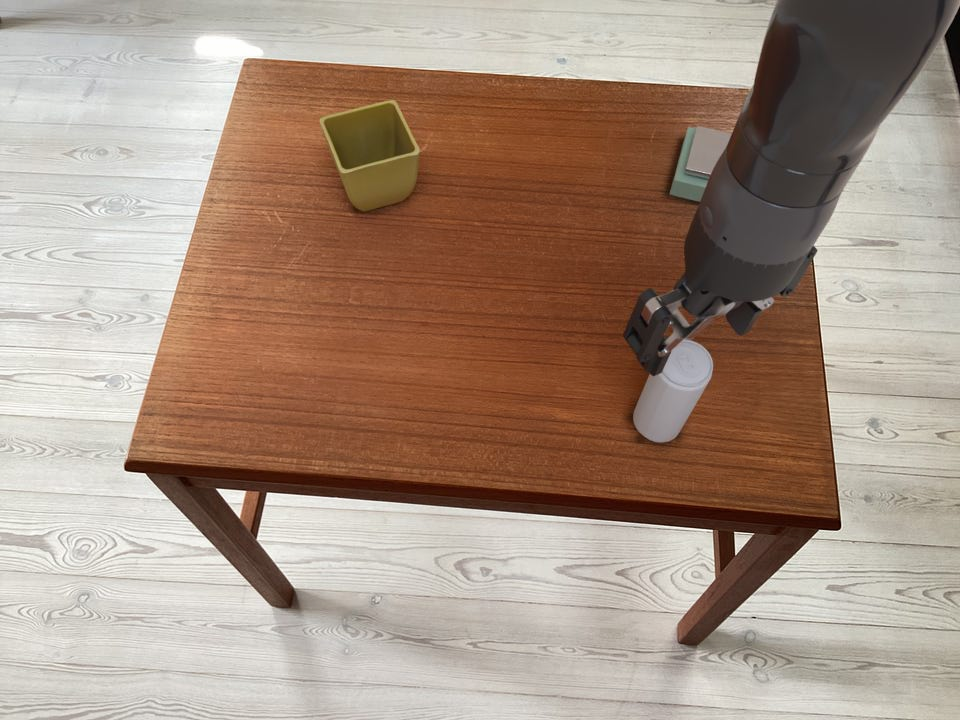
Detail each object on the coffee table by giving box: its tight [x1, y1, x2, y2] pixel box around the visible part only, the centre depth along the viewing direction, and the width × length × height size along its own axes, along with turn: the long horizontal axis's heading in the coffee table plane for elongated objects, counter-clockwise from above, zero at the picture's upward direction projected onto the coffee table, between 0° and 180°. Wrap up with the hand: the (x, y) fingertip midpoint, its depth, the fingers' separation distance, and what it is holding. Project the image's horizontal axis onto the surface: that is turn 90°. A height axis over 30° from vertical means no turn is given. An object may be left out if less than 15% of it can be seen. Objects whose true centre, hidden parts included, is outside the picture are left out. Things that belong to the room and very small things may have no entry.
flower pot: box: [319, 99, 421, 213], centre depth 86 cm, size 9×9×9 cm
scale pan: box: [685, 125, 732, 179], centre depth 89 cm, size 7×7×1 cm
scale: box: [669, 126, 709, 203], centre depth 90 cm, size 9×9×3 cm
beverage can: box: [632, 339, 714, 444], centre depth 70 cm, size 5×5×12 cm
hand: (693, 345), depth 63 cm, fingers open, 8 cm apart
